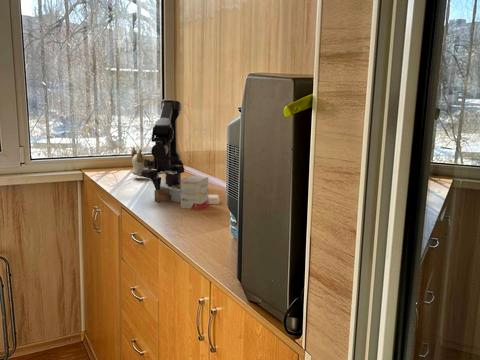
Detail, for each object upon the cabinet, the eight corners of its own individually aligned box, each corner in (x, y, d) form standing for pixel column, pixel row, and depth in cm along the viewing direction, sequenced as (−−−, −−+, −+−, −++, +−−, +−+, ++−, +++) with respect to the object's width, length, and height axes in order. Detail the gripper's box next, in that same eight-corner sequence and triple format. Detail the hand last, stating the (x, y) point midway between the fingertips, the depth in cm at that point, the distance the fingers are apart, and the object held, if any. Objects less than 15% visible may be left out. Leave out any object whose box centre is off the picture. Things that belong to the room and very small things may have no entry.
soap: (197, 205, 196) (197, 197, 195) (196, 201, 201) (196, 194, 200) (219, 204, 197) (219, 197, 196) (218, 201, 202) (218, 194, 202)
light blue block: (162, 196, 207) (162, 184, 206) (182, 202, 199) (182, 190, 197) (157, 197, 205) (157, 185, 204) (178, 203, 197) (178, 191, 196)
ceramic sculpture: (153, 178, 241) (152, 148, 238) (136, 180, 236) (136, 149, 233) (144, 174, 249) (144, 145, 246) (128, 176, 245) (127, 146, 241)
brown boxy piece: (180, 196, 208) (180, 184, 207) (184, 197, 206) (184, 185, 205) (154, 202, 197) (154, 190, 196) (158, 203, 196) (158, 191, 195)
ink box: (209, 205, 194) (209, 176, 192) (200, 211, 187) (200, 180, 184) (189, 203, 197) (189, 174, 195) (180, 208, 189) (179, 178, 187)
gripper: (167, 149, 212) (168, 184, 216) (132, 154, 199) (133, 191, 202) (185, 153, 205) (185, 189, 209) (149, 158, 192) (150, 196, 195)
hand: (163, 191), depth 204 cm, fingers open, 6 cm apart
